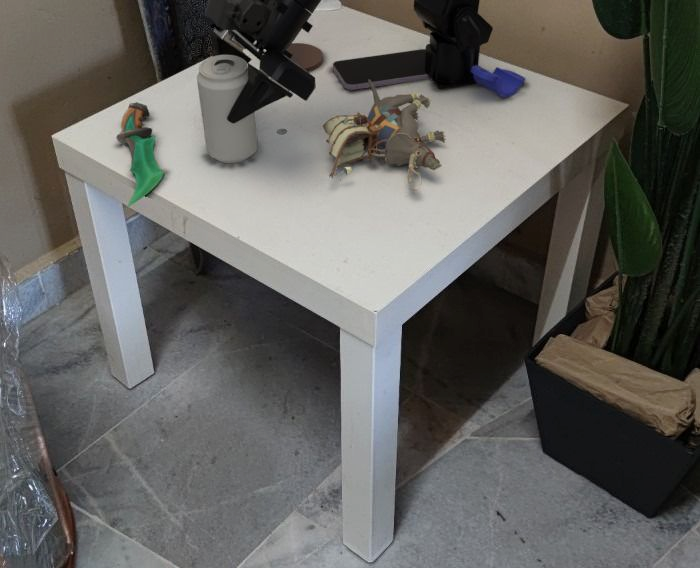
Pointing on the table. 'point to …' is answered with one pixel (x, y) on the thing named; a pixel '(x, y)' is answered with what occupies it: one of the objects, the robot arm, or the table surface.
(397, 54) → the smartphone
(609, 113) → the table surface
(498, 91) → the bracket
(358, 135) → the figurine
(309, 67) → the coaster
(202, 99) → the beverage can
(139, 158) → the knife
